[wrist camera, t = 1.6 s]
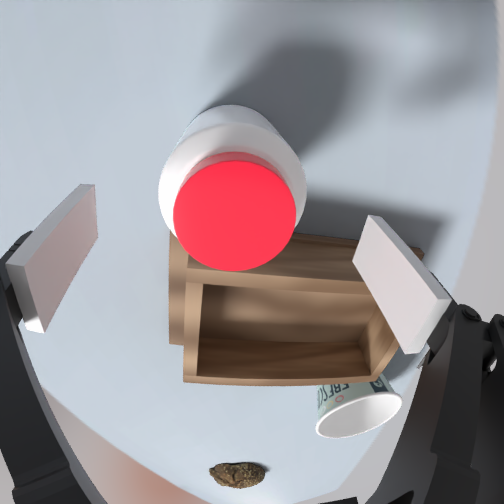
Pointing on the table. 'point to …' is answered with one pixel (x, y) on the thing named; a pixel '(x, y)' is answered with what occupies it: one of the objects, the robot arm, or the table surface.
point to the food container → (355, 407)
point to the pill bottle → (232, 189)
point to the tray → (279, 318)
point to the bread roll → (237, 475)
